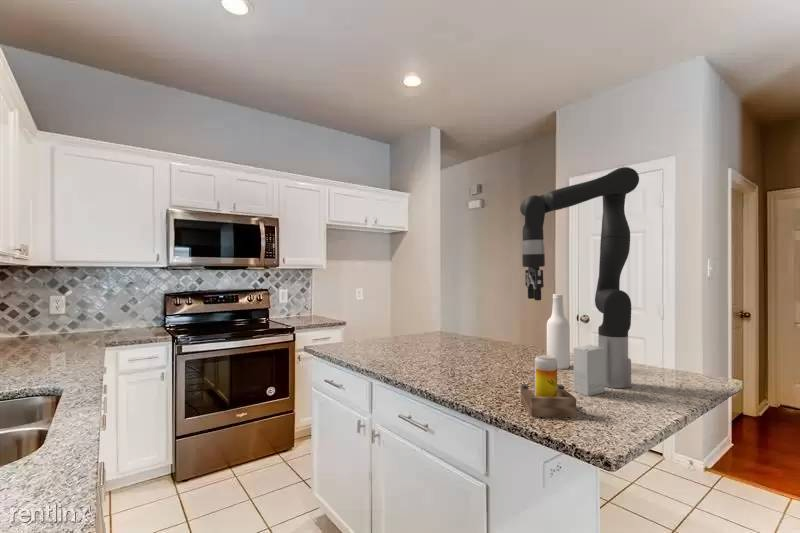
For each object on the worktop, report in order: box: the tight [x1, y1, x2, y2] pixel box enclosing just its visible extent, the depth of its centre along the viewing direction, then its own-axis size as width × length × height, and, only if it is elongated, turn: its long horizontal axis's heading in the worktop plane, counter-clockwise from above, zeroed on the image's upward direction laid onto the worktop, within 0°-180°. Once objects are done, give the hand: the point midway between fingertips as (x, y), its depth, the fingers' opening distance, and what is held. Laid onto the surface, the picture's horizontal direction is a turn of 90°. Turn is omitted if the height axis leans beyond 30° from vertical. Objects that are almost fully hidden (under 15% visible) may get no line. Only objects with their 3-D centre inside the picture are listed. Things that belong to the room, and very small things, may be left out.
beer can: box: [534, 354, 558, 397], centre depth 119 cm, size 6×6×15 cm
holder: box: [520, 383, 577, 418], centre depth 118 cm, size 12×12×6 cm
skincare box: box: [573, 344, 606, 397], centre depth 134 cm, size 8×6×15 cm
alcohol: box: [546, 293, 571, 370], centre depth 169 cm, size 9×9×30 cm
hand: (534, 299), depth 144 cm, fingers open, 8 cm apart
